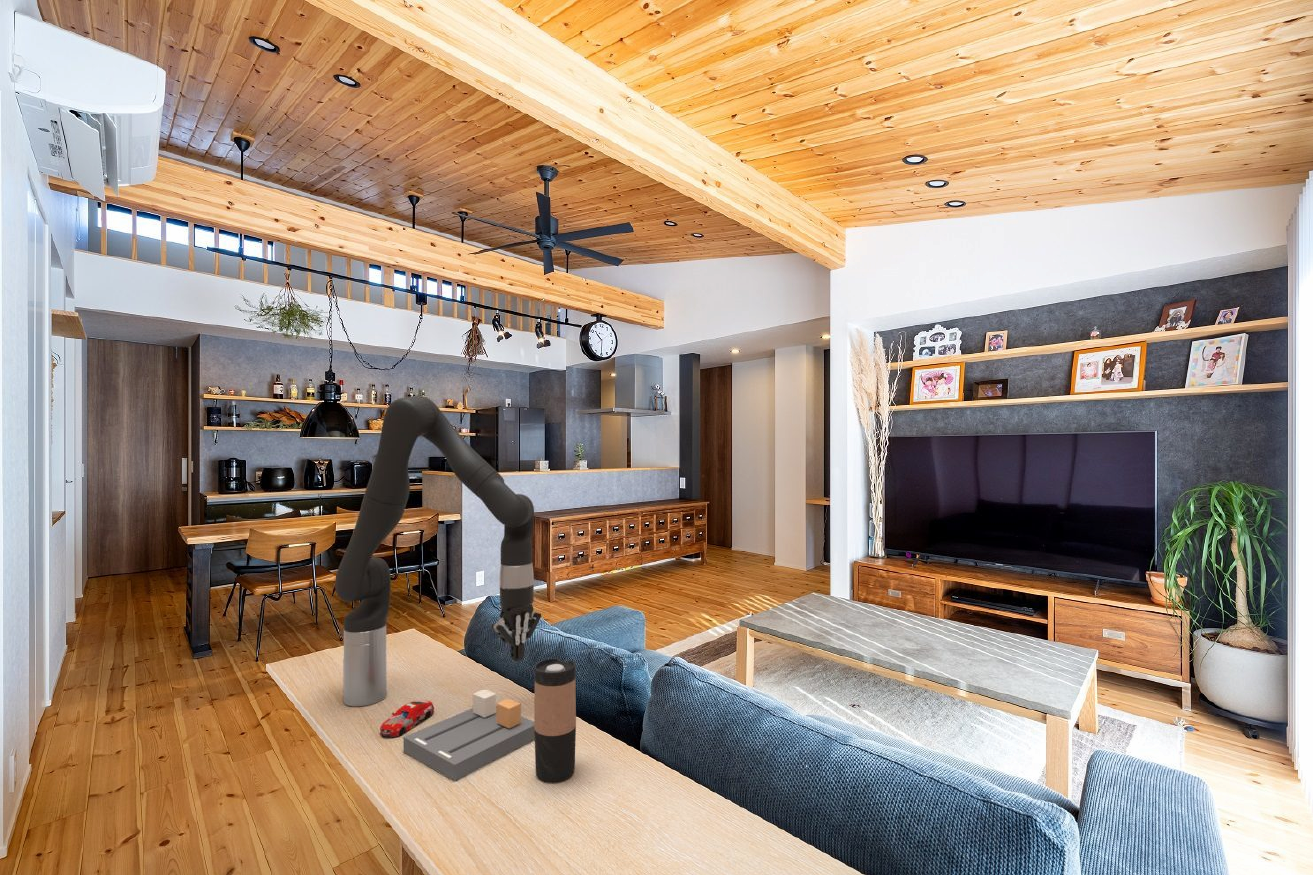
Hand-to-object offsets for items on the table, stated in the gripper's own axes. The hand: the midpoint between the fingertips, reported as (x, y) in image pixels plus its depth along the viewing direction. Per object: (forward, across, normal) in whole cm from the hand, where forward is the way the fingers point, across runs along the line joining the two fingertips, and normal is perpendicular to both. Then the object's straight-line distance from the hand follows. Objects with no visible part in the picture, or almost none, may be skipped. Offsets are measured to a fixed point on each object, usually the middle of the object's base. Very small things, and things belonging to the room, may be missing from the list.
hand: (517, 659), depth 137 cm
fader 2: (+9, +9, +8) cm, 15 cm away
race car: (+12, +18, -15) cm, 27 cm away
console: (+12, +15, +4) cm, 19 cm away
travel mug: (+13, +12, +25) cm, 30 cm away
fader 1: (+9, +9, 0) cm, 12 cm away
